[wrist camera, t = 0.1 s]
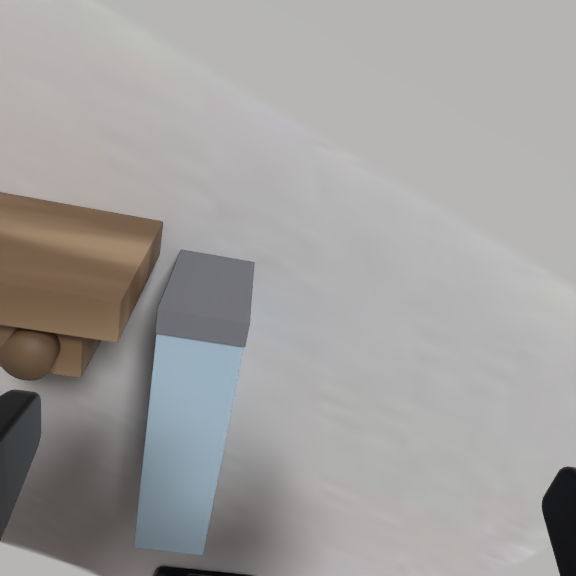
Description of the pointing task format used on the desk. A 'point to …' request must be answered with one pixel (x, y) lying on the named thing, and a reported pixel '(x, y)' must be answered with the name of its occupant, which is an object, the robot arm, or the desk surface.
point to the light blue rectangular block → (191, 398)
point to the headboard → (67, 282)
